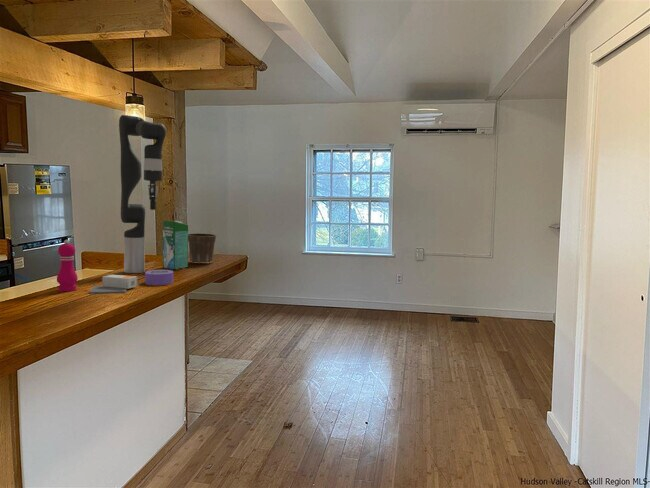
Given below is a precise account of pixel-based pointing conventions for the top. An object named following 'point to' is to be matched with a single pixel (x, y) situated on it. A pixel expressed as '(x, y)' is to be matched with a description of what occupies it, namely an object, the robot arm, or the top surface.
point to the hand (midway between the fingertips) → (152, 209)
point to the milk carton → (175, 244)
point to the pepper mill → (66, 268)
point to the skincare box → (119, 281)
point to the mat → (107, 290)
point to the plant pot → (201, 247)
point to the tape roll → (159, 277)
